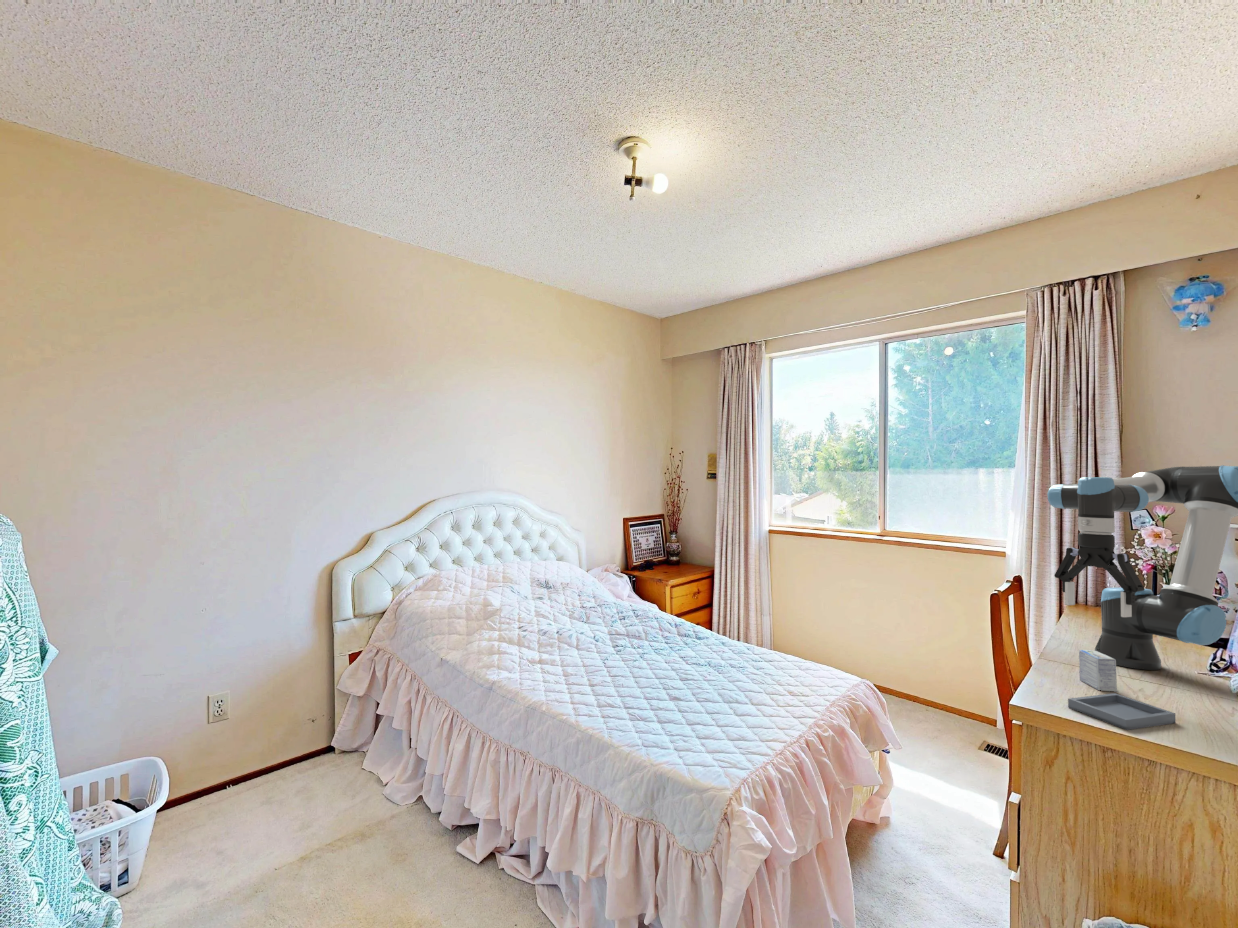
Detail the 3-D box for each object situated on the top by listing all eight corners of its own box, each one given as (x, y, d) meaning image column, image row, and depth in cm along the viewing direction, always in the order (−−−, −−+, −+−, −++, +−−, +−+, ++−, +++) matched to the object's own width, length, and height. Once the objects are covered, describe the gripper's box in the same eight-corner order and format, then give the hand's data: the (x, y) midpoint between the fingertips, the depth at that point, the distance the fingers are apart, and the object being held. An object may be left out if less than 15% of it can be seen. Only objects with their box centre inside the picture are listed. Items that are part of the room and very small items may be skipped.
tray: (1115, 701, 134) (1114, 692, 134) (1175, 722, 123) (1175, 713, 123) (1068, 707, 130) (1068, 698, 130) (1126, 729, 118) (1126, 719, 118)
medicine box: (1117, 692, 141) (1117, 659, 141) (1098, 690, 142) (1097, 658, 142) (1097, 681, 148) (1096, 650, 149) (1078, 680, 149) (1078, 649, 150)
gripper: (1039, 528, 157) (1039, 600, 157) (1141, 538, 133) (1142, 623, 133) (1058, 528, 159) (1058, 599, 159) (1162, 537, 135) (1163, 621, 135)
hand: (1096, 610), depth 146 cm, fingers open, 13 cm apart
